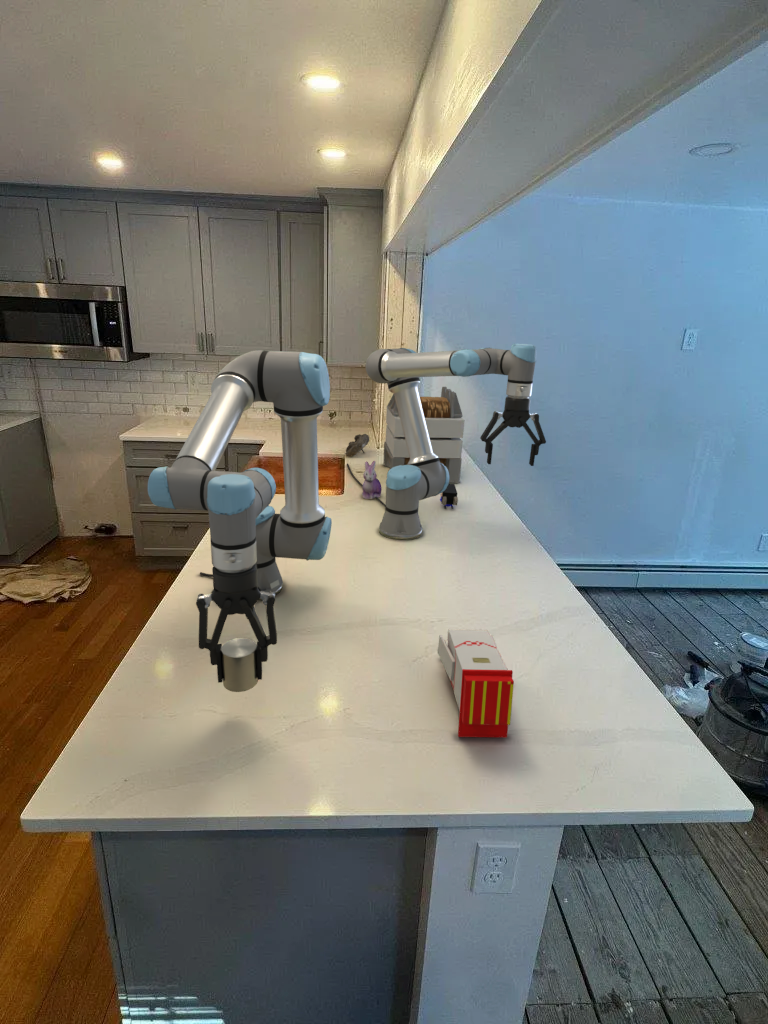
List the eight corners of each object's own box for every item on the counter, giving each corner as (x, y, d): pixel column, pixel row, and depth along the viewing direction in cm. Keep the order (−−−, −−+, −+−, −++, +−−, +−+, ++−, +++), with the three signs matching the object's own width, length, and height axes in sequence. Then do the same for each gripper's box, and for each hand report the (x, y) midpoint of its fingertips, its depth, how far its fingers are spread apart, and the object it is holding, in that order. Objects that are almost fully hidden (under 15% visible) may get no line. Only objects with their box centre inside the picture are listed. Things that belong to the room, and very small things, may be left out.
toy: (488, 613, 130) (523, 677, 101) (484, 667, 133) (517, 744, 104) (435, 612, 130) (455, 676, 101) (432, 666, 133) (451, 743, 103)
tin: (215, 684, 105) (213, 649, 102) (240, 667, 110) (238, 633, 108) (241, 696, 102) (239, 661, 99) (265, 678, 107) (264, 644, 105)
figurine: (366, 501, 232) (367, 465, 227) (356, 493, 240) (357, 459, 235) (386, 498, 236) (388, 463, 231) (375, 491, 244) (377, 457, 239)
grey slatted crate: (382, 463, 289) (386, 382, 275) (445, 464, 293) (451, 384, 279) (390, 482, 257) (394, 392, 243) (460, 483, 261) (468, 394, 247)
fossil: (345, 440, 316) (366, 424, 311) (356, 453, 319) (377, 438, 314) (339, 453, 297) (361, 437, 292) (350, 467, 300) (373, 452, 295)
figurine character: (457, 514, 225) (453, 498, 239) (459, 497, 222) (455, 481, 236) (441, 513, 225) (437, 497, 239) (442, 496, 222) (439, 481, 235)
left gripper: (172, 576, 93) (183, 693, 101) (291, 571, 96) (293, 685, 104) (179, 557, 100) (189, 668, 108) (291, 553, 103) (292, 661, 111)
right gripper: (479, 396, 169) (472, 465, 177) (562, 400, 170) (552, 468, 177) (475, 393, 176) (469, 459, 184) (555, 396, 177) (545, 462, 184)
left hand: (240, 676), depth 106 cm, fingers closed on tin, 6 cm apart
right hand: (510, 464), depth 180 cm, fingers open, 13 cm apart
